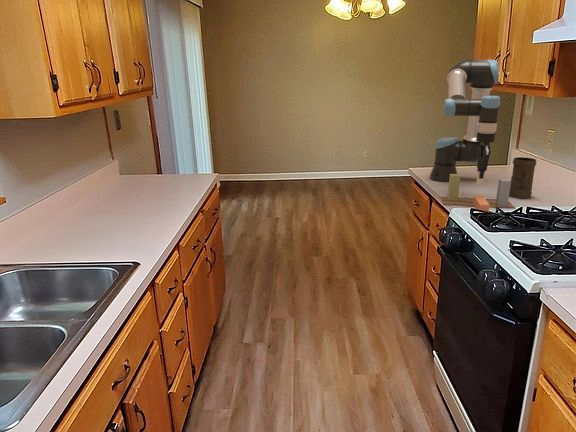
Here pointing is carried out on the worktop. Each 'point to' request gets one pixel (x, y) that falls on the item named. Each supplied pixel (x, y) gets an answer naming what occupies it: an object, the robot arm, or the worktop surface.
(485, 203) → the terracotta pillar
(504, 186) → the slate pillar
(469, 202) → the walnut board
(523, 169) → the beer stein
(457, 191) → the olive pillar
